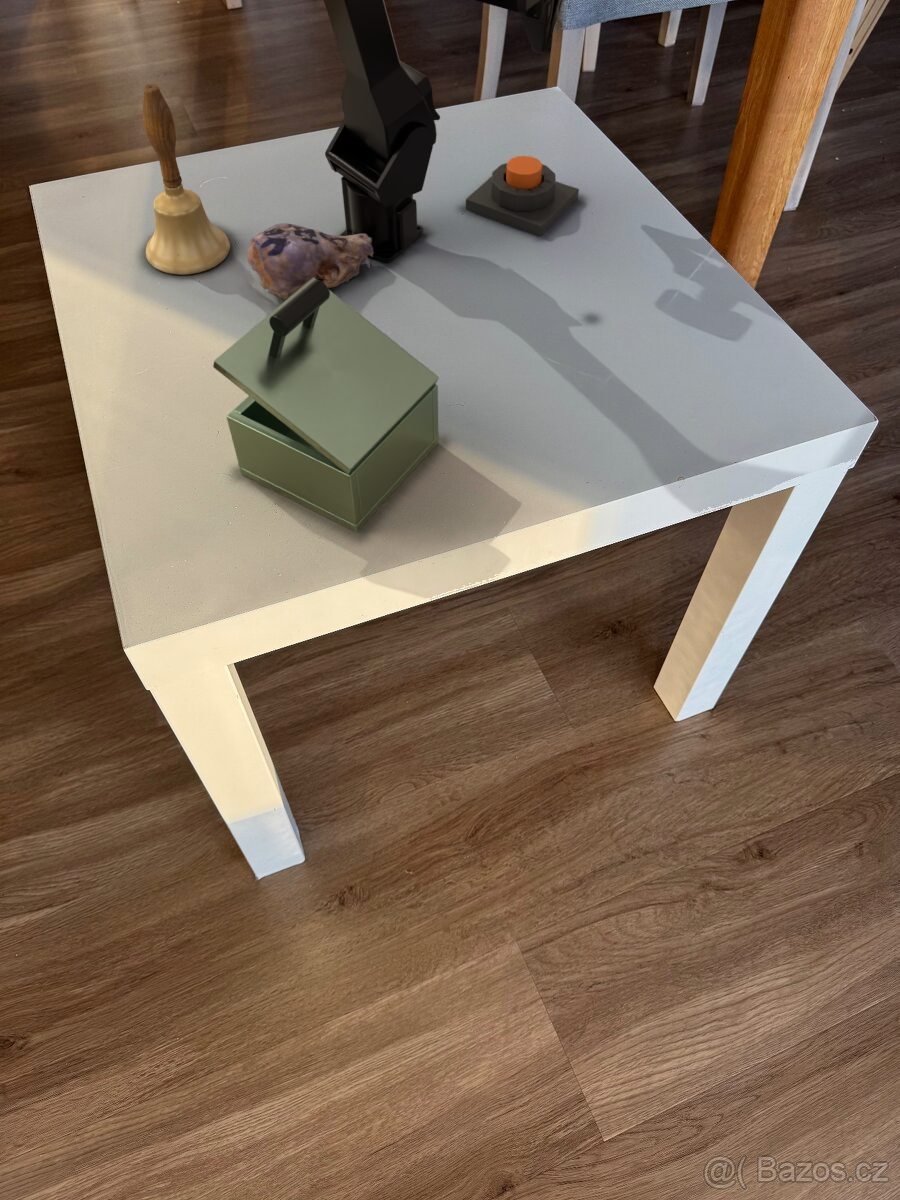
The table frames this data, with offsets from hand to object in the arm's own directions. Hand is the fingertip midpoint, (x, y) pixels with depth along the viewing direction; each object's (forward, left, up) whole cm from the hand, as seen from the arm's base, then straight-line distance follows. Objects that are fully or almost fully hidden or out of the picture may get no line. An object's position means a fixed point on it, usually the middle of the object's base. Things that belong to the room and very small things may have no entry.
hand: (539, 50), depth 94 cm
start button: (+3, -7, -10) cm, 12 cm away
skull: (-8, -28, -12) cm, 32 cm away
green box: (+9, -47, -12) cm, 49 cm away
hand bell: (-21, -32, -12) cm, 40 cm away
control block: (+3, -7, -12) cm, 14 cm away
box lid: (+9, -47, -3) cm, 48 cm away
